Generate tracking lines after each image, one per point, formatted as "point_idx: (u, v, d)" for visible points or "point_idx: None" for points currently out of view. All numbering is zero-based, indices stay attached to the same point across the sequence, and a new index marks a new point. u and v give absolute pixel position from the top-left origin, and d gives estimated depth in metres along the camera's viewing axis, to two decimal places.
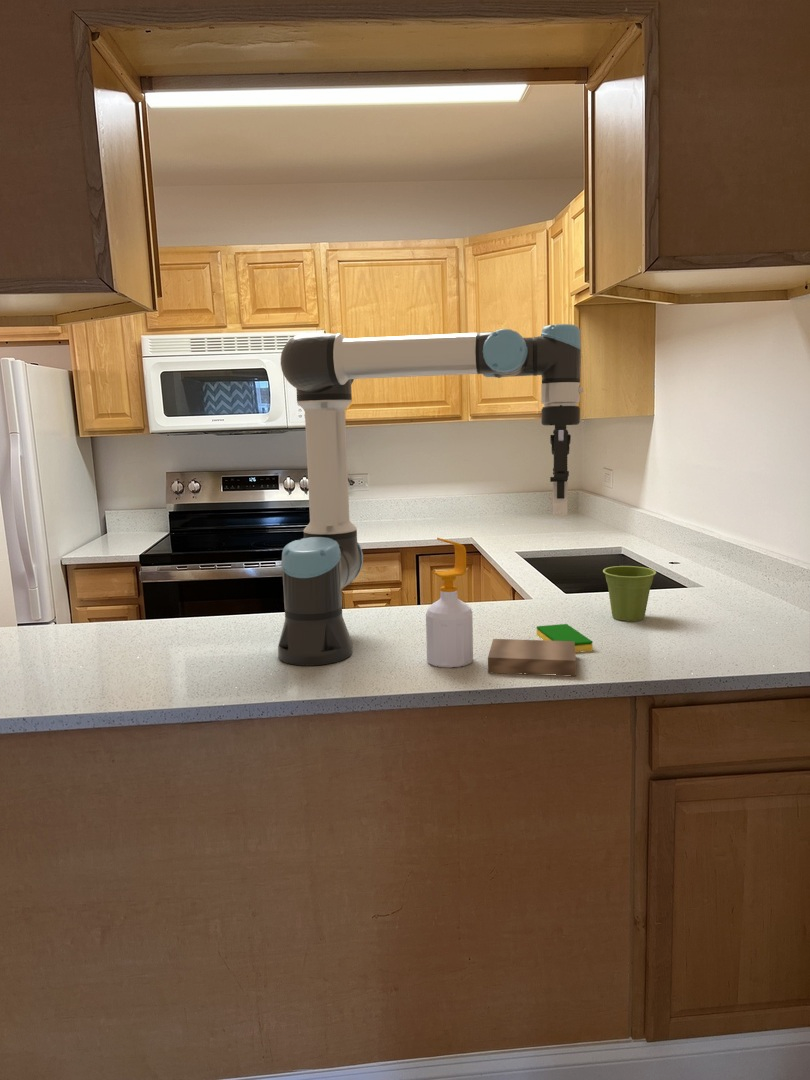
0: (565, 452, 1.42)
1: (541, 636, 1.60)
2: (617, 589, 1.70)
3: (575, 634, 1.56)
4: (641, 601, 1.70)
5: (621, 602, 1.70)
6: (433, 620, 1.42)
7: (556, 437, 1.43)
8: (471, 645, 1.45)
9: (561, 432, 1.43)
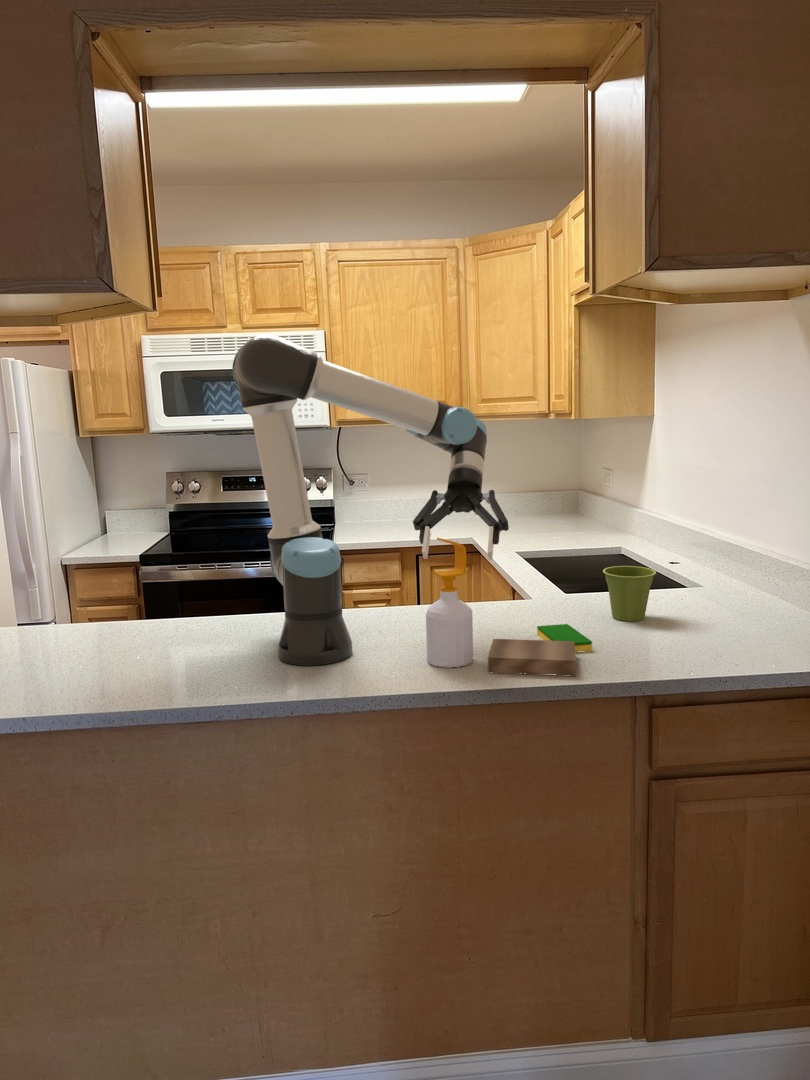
0: None
1: (541, 636, 1.60)
2: (617, 589, 1.70)
3: (575, 634, 1.56)
4: (641, 601, 1.70)
5: (621, 602, 1.70)
6: (433, 620, 1.42)
7: (494, 495, 1.60)
8: (471, 645, 1.45)
9: None
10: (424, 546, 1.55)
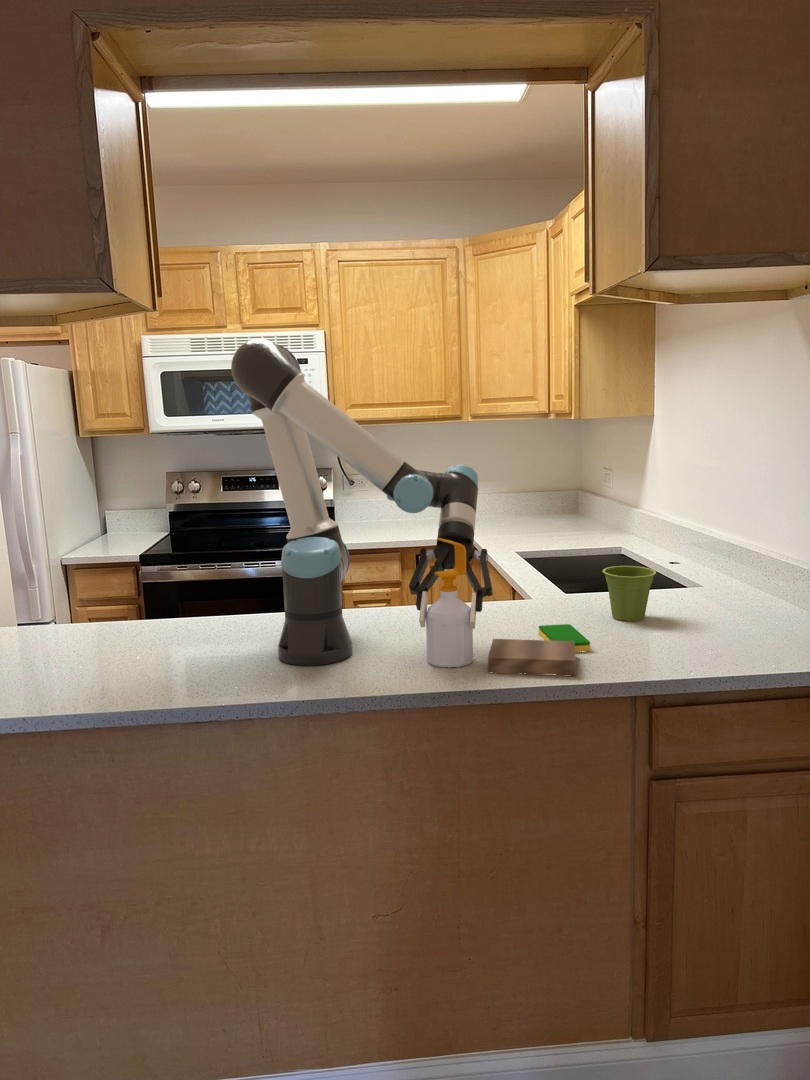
0: None
1: (542, 635, 1.60)
2: (617, 589, 1.70)
3: (575, 634, 1.55)
4: (641, 601, 1.70)
5: (621, 602, 1.70)
6: (433, 620, 1.42)
7: (486, 555, 1.49)
8: (471, 645, 1.45)
9: (487, 555, 1.50)
10: (421, 614, 1.43)
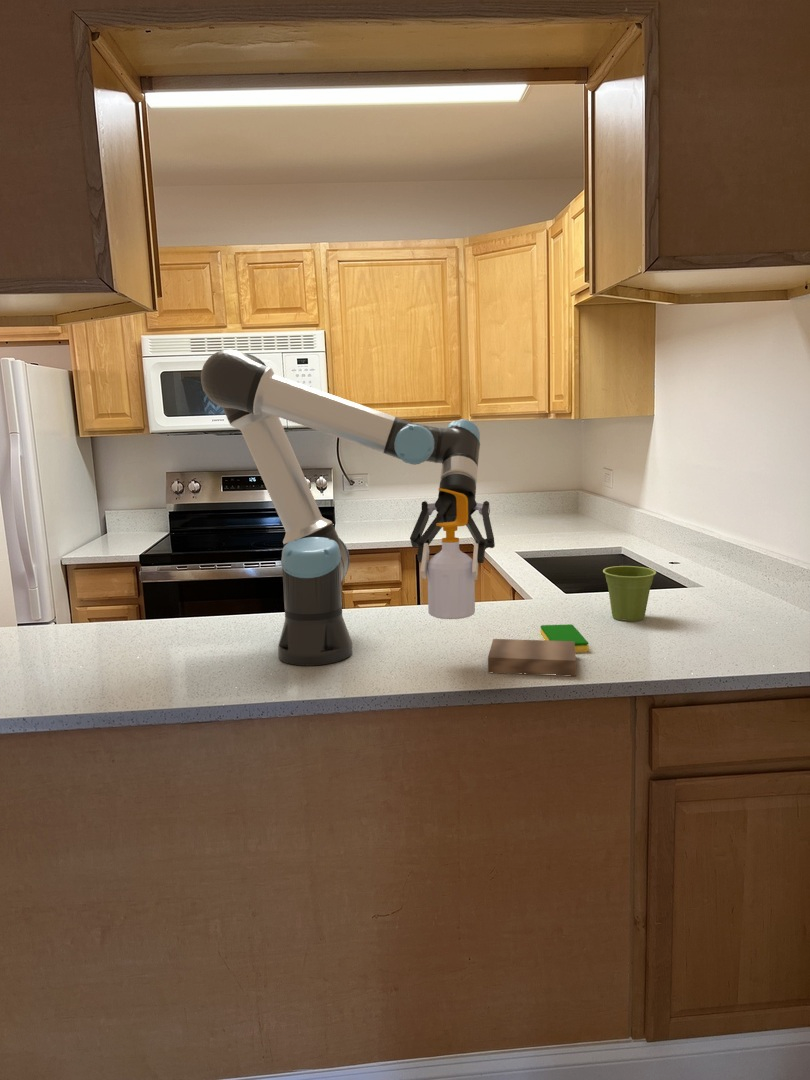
0: None
1: (543, 635, 1.60)
2: (618, 589, 1.70)
3: (574, 635, 1.55)
4: (641, 601, 1.70)
5: (621, 602, 1.70)
6: (435, 570, 1.41)
7: (488, 508, 1.48)
8: (473, 596, 1.43)
9: (489, 507, 1.49)
10: (423, 565, 1.41)
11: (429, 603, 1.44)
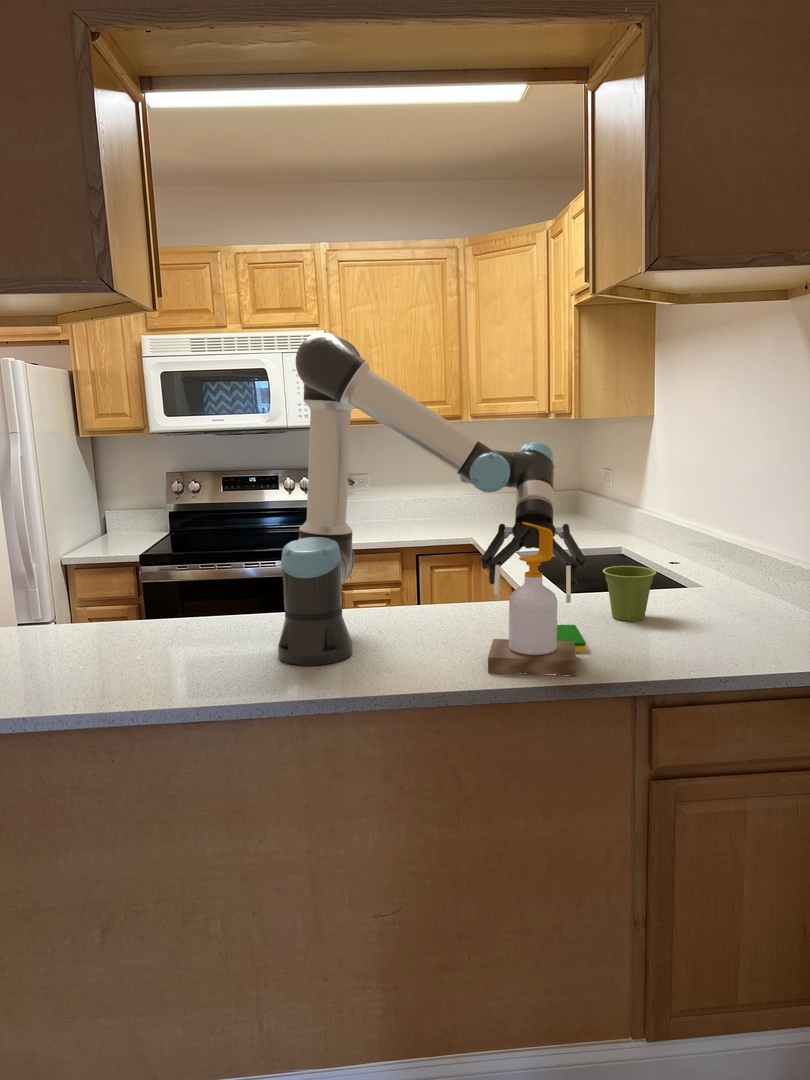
0: None
1: None
2: (617, 589, 1.70)
3: (574, 635, 1.55)
4: (641, 601, 1.70)
5: (621, 602, 1.70)
6: (518, 606, 1.39)
7: None
8: (555, 632, 1.41)
9: None
10: (496, 588, 1.40)
11: (510, 638, 1.42)
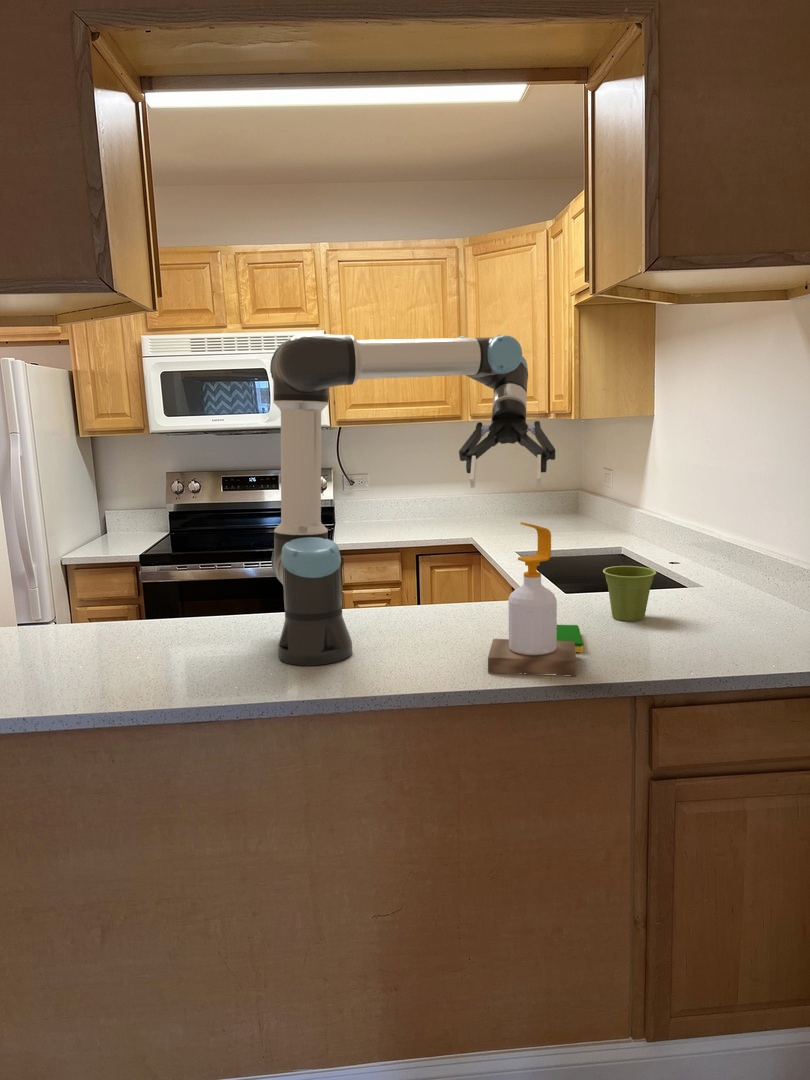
0: None
1: None
2: (617, 589, 1.70)
3: (573, 635, 1.55)
4: (641, 601, 1.70)
5: (621, 602, 1.70)
6: (518, 606, 1.39)
7: None
8: (555, 632, 1.41)
9: None
10: (472, 474, 1.55)
11: (510, 638, 1.42)
